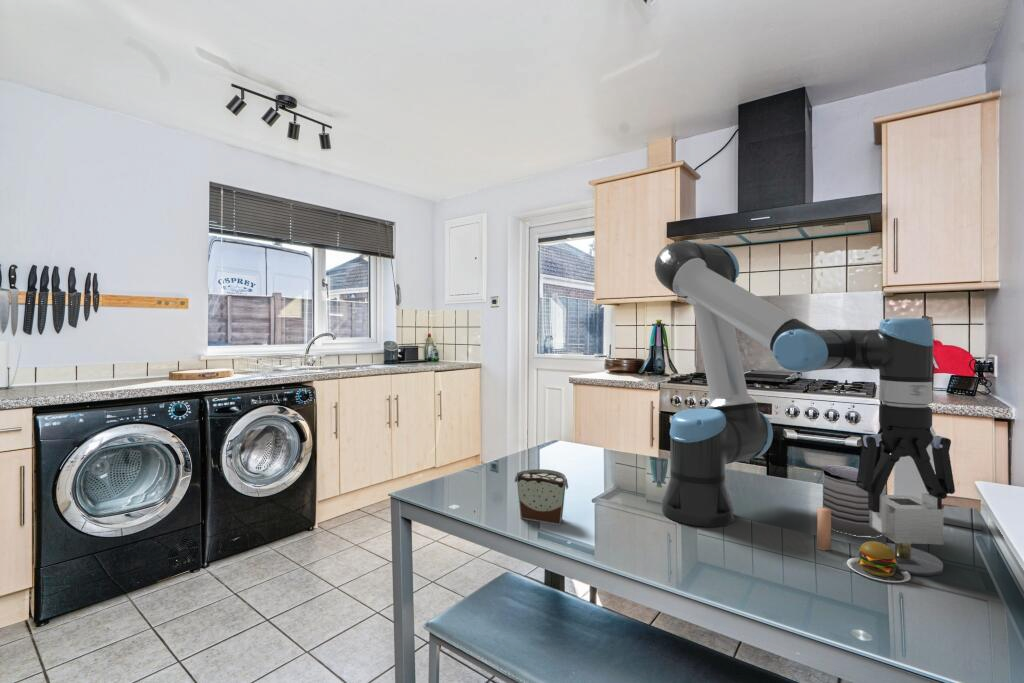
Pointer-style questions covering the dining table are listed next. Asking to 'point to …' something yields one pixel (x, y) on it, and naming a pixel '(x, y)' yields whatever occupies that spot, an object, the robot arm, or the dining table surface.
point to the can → (846, 501)
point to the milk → (910, 475)
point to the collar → (912, 520)
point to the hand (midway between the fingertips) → (904, 530)
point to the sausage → (824, 529)
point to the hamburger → (877, 561)
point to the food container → (541, 495)
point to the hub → (915, 560)
